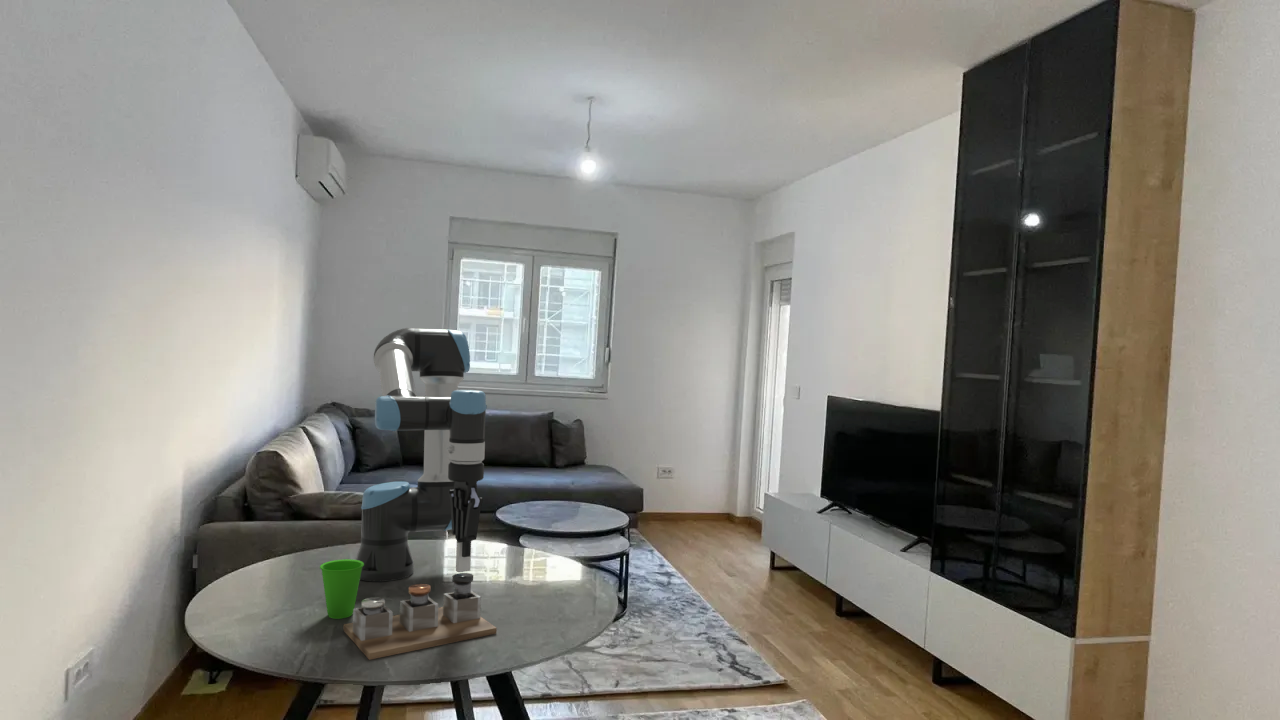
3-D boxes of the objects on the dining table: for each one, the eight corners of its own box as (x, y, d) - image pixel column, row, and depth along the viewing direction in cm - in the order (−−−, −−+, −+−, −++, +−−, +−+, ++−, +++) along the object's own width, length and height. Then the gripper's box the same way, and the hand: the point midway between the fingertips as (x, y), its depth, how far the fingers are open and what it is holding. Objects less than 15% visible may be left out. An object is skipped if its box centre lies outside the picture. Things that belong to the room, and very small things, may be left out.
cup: (371, 611, 168) (372, 562, 168) (342, 624, 159) (344, 572, 159) (338, 605, 171) (339, 557, 171) (308, 618, 162) (310, 567, 162)
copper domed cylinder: (404, 609, 158) (405, 585, 158) (425, 606, 160) (426, 582, 160) (412, 615, 154) (412, 591, 154) (433, 612, 157) (433, 588, 157)
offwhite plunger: (358, 624, 152) (358, 599, 152) (380, 620, 155) (380, 596, 155) (364, 630, 148) (365, 605, 148) (386, 626, 151) (387, 601, 151)
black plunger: (448, 597, 163) (449, 574, 163) (467, 594, 166) (468, 572, 166) (456, 603, 160) (457, 580, 160) (475, 600, 162) (476, 577, 162)
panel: (343, 630, 156) (344, 602, 156) (462, 608, 171) (462, 583, 171) (369, 659, 141) (370, 628, 141) (496, 633, 157) (497, 605, 157)
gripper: (438, 458, 166) (435, 565, 166) (461, 466, 155) (458, 580, 155) (470, 457, 170) (467, 561, 170) (495, 464, 160) (492, 575, 160)
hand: (463, 570), depth 163 cm, fingers closed
